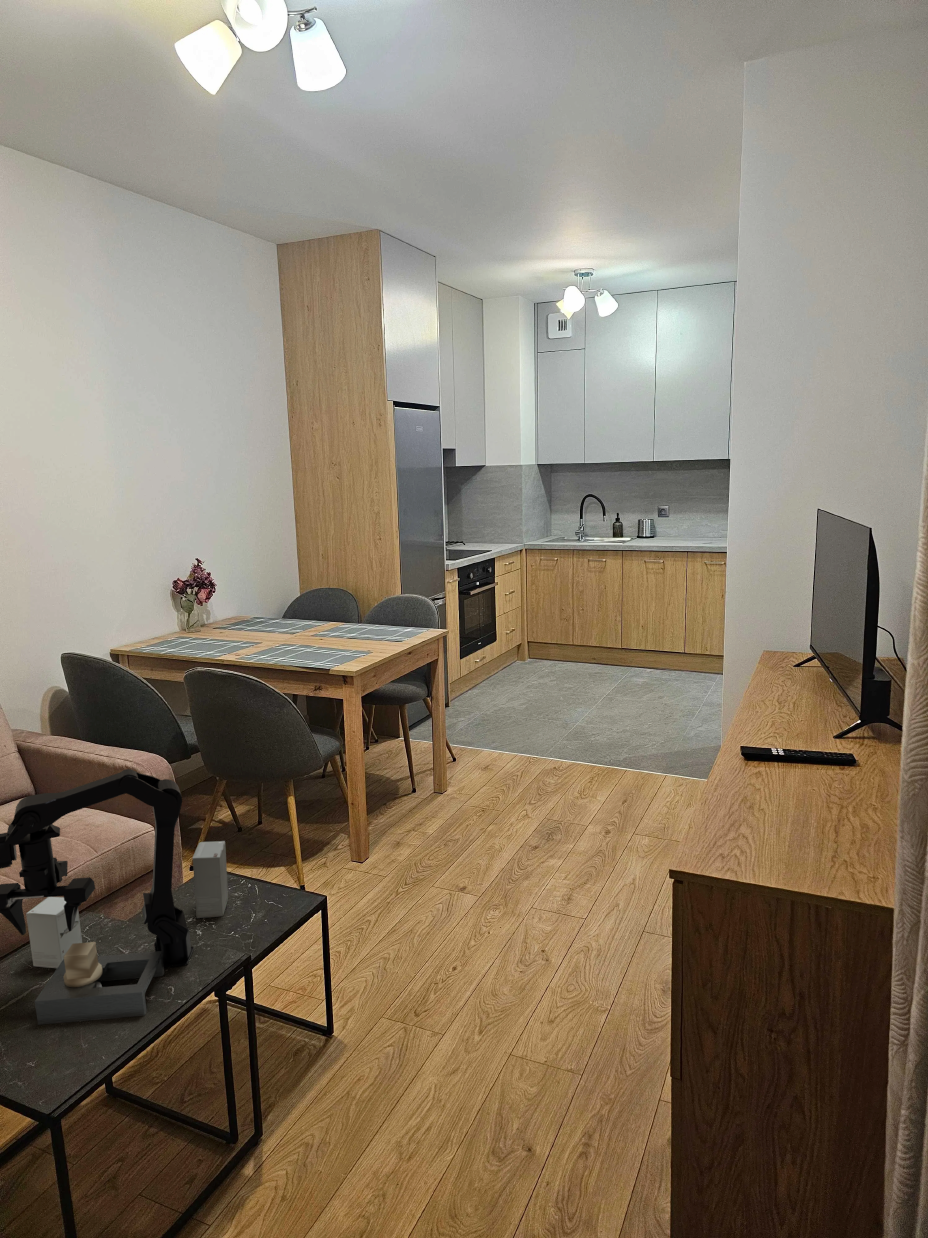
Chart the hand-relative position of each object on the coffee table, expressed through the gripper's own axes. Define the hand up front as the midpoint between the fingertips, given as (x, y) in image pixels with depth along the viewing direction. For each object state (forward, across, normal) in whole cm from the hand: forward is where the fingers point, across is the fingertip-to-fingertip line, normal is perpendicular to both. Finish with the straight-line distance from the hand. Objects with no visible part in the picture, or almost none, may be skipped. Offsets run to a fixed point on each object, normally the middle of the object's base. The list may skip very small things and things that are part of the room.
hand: (47, 932), depth 167 cm
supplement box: (+13, +4, -12) cm, 18 cm away
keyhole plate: (+13, -11, +4) cm, 17 cm away
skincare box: (+13, -26, -28) cm, 40 cm away
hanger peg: (+12, -8, +4) cm, 15 cm away
